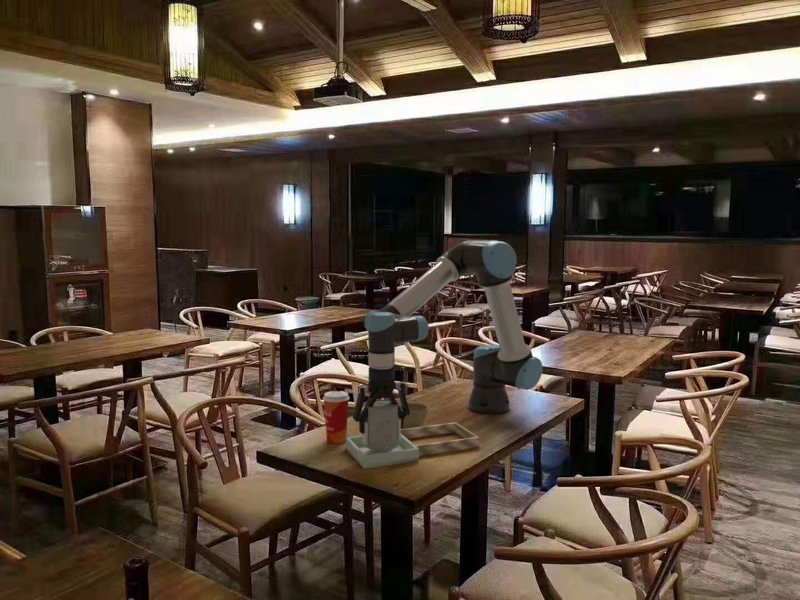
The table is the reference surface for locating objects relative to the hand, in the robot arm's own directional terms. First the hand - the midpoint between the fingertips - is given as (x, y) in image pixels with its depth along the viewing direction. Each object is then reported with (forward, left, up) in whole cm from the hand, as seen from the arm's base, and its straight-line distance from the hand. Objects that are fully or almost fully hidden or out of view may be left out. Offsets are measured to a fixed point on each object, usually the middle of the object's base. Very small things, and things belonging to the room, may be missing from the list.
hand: (381, 441), depth 184 cm
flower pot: (-18, -19, -4) cm, 26 cm away
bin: (0, 0, -4) cm, 4 cm away
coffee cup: (+9, -16, -4) cm, 19 cm away
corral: (-19, -3, -4) cm, 20 cm away
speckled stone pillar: (0, 0, -1) cm, 1 cm away
